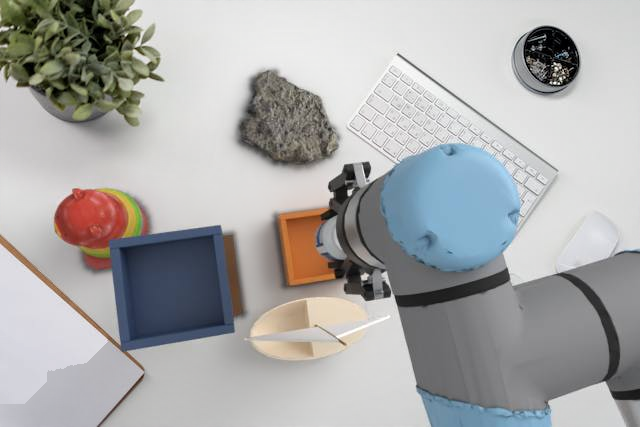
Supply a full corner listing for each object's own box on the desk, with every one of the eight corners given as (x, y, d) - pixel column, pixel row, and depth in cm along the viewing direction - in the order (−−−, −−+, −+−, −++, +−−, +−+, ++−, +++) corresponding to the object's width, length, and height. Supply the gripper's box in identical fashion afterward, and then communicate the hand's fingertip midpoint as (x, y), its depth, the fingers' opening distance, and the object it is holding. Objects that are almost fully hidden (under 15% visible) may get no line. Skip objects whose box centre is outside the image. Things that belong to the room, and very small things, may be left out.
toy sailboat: (253, 406, 55) (243, 320, 55) (247, 364, 79) (240, 305, 80) (442, 372, 58) (430, 292, 59) (380, 342, 83) (372, 286, 84)
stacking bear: (67, 204, 77) (19, 184, 60) (136, 182, 79) (109, 157, 62) (90, 273, 77) (49, 274, 59) (159, 250, 79) (138, 244, 61)
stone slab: (316, 185, 84) (319, 182, 81) (223, 131, 82) (223, 126, 79) (352, 120, 86) (357, 115, 83) (262, 67, 85) (264, 59, 82)
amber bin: (353, 274, 83) (359, 274, 79) (286, 285, 81) (289, 285, 77) (343, 208, 84) (348, 205, 80) (277, 217, 82) (279, 214, 78)
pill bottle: (363, 245, 68) (384, 241, 58) (329, 269, 67) (345, 269, 57) (339, 211, 68) (357, 201, 58) (305, 234, 67) (317, 228, 57)
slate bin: (243, 313, 80) (250, 344, 46) (161, 327, 78) (108, 369, 44) (232, 235, 81) (232, 209, 47) (151, 246, 79) (91, 228, 45)
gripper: (446, 326, 44) (374, 307, 67) (411, 113, 46) (351, 165, 69) (361, 342, 43) (316, 317, 66) (327, 122, 45) (295, 172, 67)
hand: (334, 240), depth 67 cm, fingers closed on pill bottle, 5 cm apart
